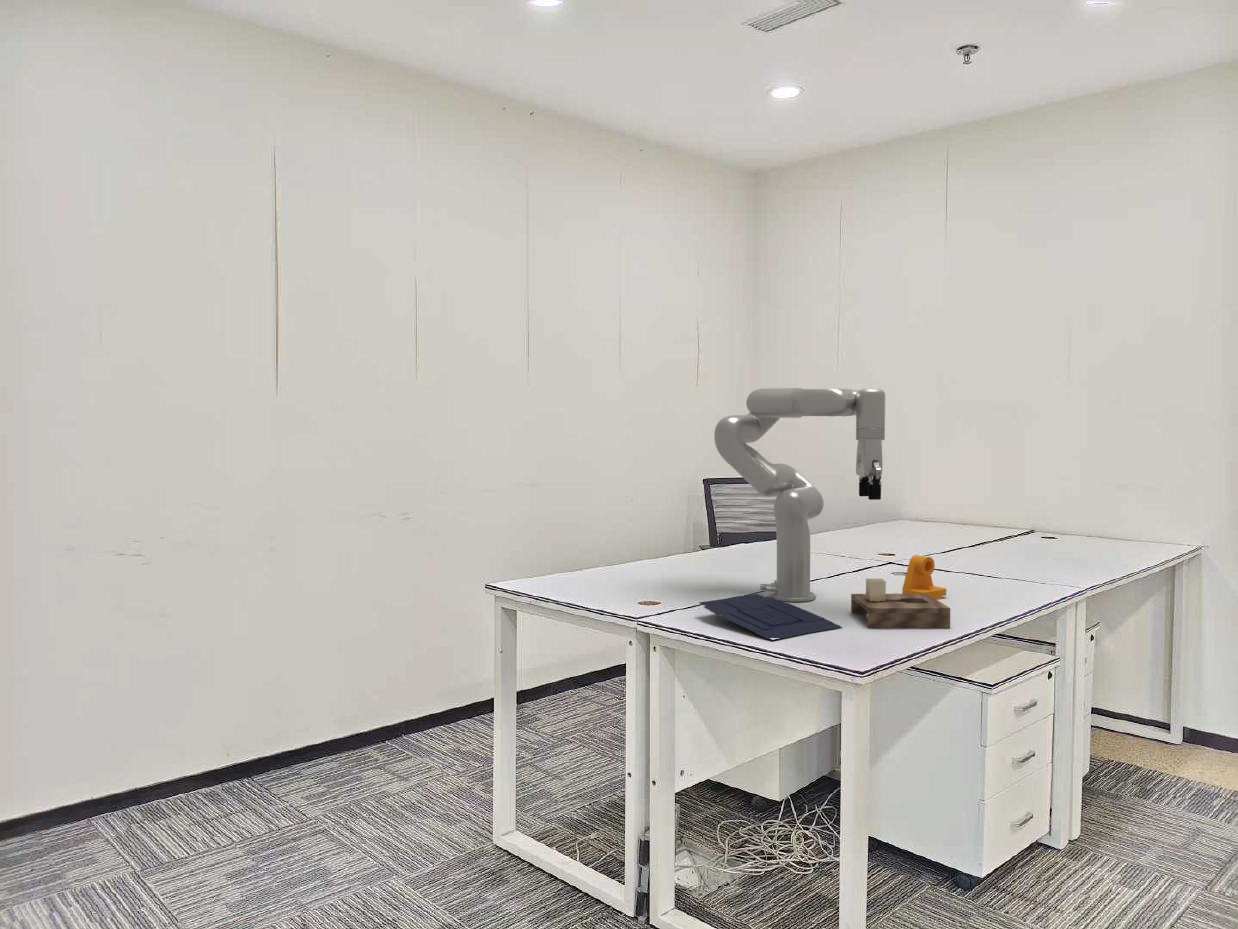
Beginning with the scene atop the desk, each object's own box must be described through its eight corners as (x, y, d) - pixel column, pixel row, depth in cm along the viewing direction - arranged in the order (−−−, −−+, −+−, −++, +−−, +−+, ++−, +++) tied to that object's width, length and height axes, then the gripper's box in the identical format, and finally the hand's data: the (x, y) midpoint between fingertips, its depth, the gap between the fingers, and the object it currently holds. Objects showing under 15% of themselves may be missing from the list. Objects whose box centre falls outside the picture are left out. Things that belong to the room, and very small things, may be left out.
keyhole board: (869, 628, 221) (869, 608, 221) (851, 612, 239) (851, 593, 239) (950, 628, 221) (950, 608, 221) (925, 612, 239) (926, 593, 239)
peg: (868, 622, 228) (869, 581, 228) (864, 618, 233) (865, 578, 232) (886, 622, 228) (886, 581, 228) (881, 618, 233) (882, 578, 232)
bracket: (922, 602, 252) (923, 560, 252) (902, 597, 258) (902, 556, 258) (947, 598, 258) (948, 556, 257) (927, 593, 264) (927, 553, 263)
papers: (761, 602, 247) (762, 589, 247) (842, 637, 223) (844, 623, 222) (691, 613, 234) (692, 600, 233) (770, 652, 209) (771, 637, 209)
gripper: (848, 434, 250) (848, 495, 251) (864, 435, 233) (864, 501, 234) (875, 434, 250) (874, 495, 251) (893, 435, 233) (892, 500, 234)
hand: (869, 497), depth 243 cm, fingers open, 9 cm apart
